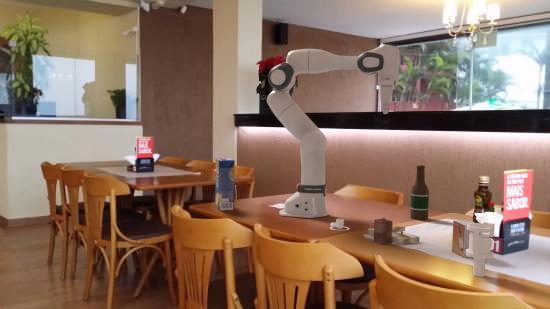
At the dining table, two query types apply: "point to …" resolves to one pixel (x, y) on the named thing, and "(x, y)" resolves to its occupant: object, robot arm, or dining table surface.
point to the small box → (461, 237)
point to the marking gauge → (385, 231)
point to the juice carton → (225, 184)
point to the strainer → (480, 246)
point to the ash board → (400, 237)
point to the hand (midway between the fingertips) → (386, 113)
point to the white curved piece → (338, 224)
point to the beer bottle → (419, 196)
